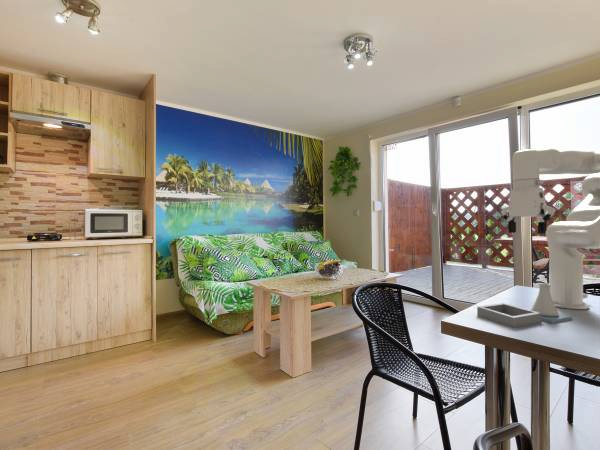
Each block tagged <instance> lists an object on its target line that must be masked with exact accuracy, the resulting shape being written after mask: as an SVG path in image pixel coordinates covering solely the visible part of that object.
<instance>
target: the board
mask: <svg viewBox="0 0 600 450" xmlns="http://www.w3.org/2000/svg"><path fill="white" fill-rule="evenodd" d="M531 309H532V308H530V309H529V310H531ZM558 314H559V316H544V315H541V322H544V323H549V324H557V323H562V322H567V321H571V320H573V316H571V315H568V314H563V313H559V312H558Z"/></svg>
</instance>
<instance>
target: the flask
mask: <svg viewBox="0 0 600 450" xmlns="http://www.w3.org/2000/svg"><path fill="white" fill-rule="evenodd" d="M537 285H538V287H539V291H538V294H537V296H536V299H535V300H534V303H533V304H532V307H531V308H530V309H531V310H532V311H535V312H539V313H541V315H544V316H559V314H558V313H559V312H558V310H557V308H556V306H555V305H554V303H553V300H552V298H551V294H550V287H551V285H550V284H549V283H545V282H544V283H540V282H539V283H538V284H537Z"/></svg>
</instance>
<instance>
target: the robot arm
mask: <svg viewBox="0 0 600 450" xmlns="http://www.w3.org/2000/svg"><path fill="white" fill-rule="evenodd" d="M564 174H565V175H566V174H567V175H569V174H570V175H587V176H586V177H585V178H584V179H583V180H582V182H581V195H582V201H581V202H580V203H579V204H578V205H576V207H575V208H573V210H571V211H570V212H569V214H567V216H566V218H565V221H557V222H556V221H555V222H553V223H551V224H549V225H547V224H548V223H547V222H549V220H551V219H552V218H553V216H554V214H555V212H556V211H557V209H556V208H554V207H552V206H550V205H547V204H546V197H545V193H544V189H543V187H541V185H543V184H544V183H545V182H544V180H541V179H540V175H564ZM588 175H589V176H588ZM508 202H509V203H508V206H507V207H505V208H504V209H502V210H500V213H501V215H502V217H503V219H504V220H505V221H506V223H507V227H508V228H507V229H508V233H509V234H513V233H514V234H515V233H516V232H517V222H516V219H518V218H528V217H529V218H533V217H535V218H536V219H537V220H538V222H537V234H539V235H541V234H543V235H544V234H545V238H546V242H547V246H548V254H549V255H548V257H549V258H548V262H549V263H548V264H549V265H548V269H549V270H548V272H549V273H548V284H550V285H551V287H550V294H551V298H552V300H553V303H554V305H555V307H557V308H562V309H569V310H588V309H589V308H590V307H589V304H588V303H586V302H584V299H588V297H589V295H588V294H587V293H584V260H583V259H584V258H583V256H582V254H581V253H580V251H579V250H578V249H588V250H589V249H590V250H591V249H592V250H597V249H600V149H599V150H594V151H582V150H581V151H580V150H564V151H559V150H557V149H554V148H546V149H538V150H537V149H533V148H531V149H523V150H517V151H515V152H513V155H512V189H511V190H510V195H509V201H508Z"/></svg>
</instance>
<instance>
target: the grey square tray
mask: <svg viewBox="0 0 600 450" xmlns="http://www.w3.org/2000/svg"><path fill="white" fill-rule="evenodd" d="M476 309H477V310H476V311H477V312H476V313H477V314H476V315H477V316H478V317H481V318H484V319H487V320H490V321H493V322H496V323H498V324H502V325H504V326H508V327H511V328H518V327H519V328H520V327H524V326H525V327H526V326H530V325H535V324H541V323H542V321H541V313H539V312H535V311H532V310H530V309H529V308H523V307H519V306H516V305H512V304H509V303H505V302H500V303H499V302H498V303H494V304H486V305H481V306H480V305H479V306H477V308H476Z"/></svg>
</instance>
